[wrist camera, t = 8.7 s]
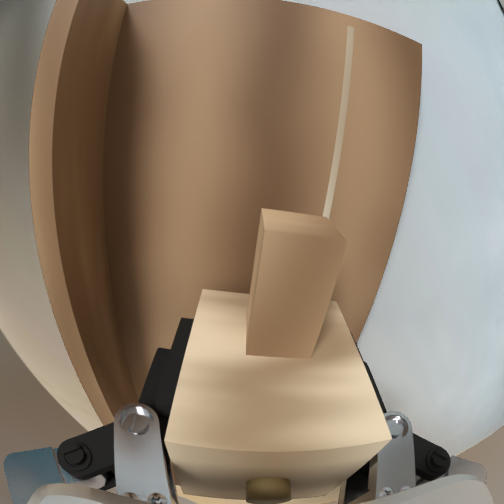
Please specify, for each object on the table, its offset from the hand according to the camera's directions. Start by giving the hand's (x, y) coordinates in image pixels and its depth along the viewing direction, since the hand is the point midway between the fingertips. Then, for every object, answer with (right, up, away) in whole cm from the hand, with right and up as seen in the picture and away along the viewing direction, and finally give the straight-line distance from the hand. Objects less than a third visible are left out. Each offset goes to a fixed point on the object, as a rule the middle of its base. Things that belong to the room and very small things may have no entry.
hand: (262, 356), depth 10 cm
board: (-2, -5, +5) cm, 7 cm away
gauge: (0, 0, +1) cm, 1 cm away
